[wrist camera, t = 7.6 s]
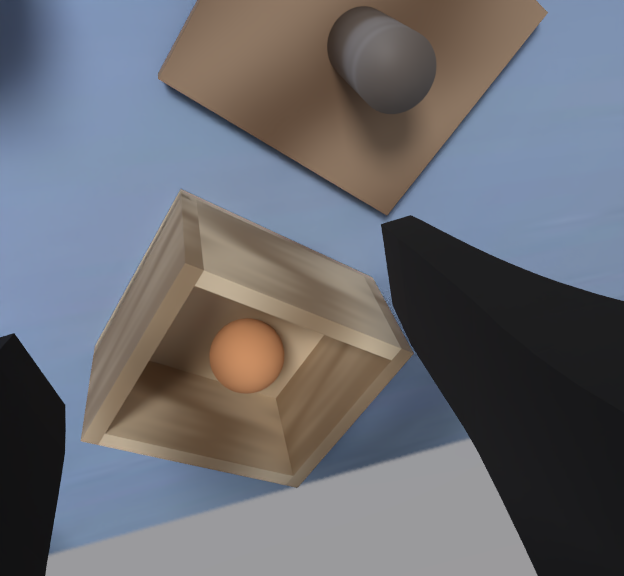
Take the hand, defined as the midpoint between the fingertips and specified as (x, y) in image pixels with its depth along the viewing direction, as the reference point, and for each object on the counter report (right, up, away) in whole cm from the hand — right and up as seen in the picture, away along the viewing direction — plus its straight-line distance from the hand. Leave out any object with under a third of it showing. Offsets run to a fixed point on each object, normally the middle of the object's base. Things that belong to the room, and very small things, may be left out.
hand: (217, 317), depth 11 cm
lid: (+3, +9, +7) cm, 12 cm away
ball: (-1, -1, +13) cm, 13 cm away
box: (-1, 0, +13) cm, 13 cm away
